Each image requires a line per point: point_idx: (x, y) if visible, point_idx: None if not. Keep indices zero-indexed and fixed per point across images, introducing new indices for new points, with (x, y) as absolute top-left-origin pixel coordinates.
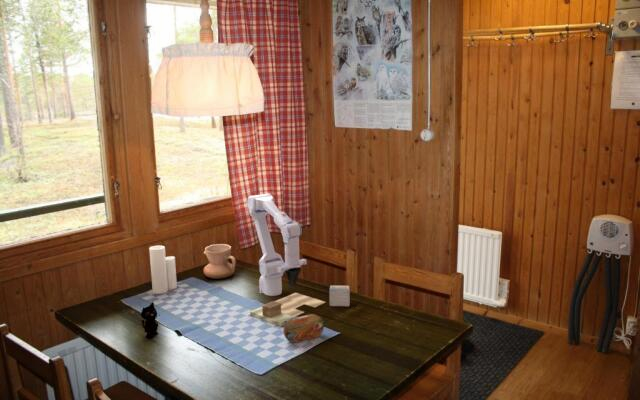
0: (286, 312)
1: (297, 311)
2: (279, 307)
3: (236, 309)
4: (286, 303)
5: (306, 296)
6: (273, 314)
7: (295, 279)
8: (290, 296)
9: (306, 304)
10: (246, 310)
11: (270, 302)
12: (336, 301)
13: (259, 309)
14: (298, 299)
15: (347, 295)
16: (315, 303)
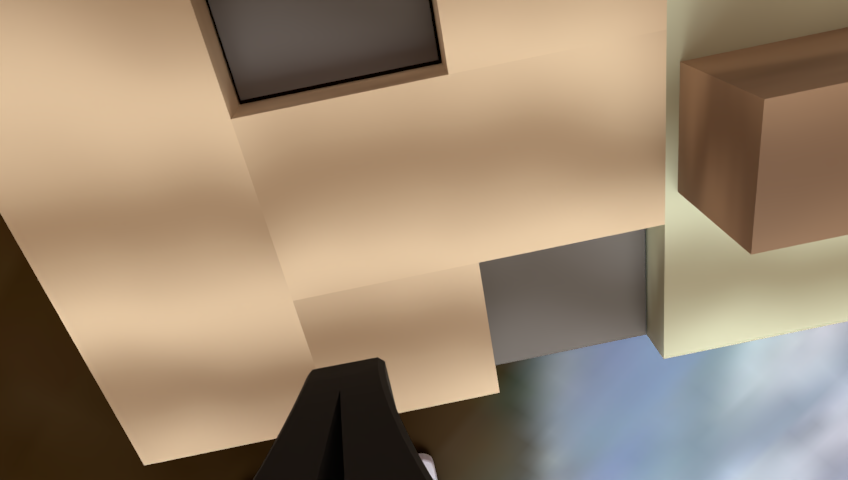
0: (619, 26)
1: None
2: (761, 76)
3: (792, 455)
4: (422, 276)
5: (74, 314)
6: (845, 35)
7: (324, 470)
8: (259, 411)
9: (213, 85)
10: (759, 399)
11: (827, 229)
12: None
13: (755, 308)
14: (221, 293)
15: None
16: (62, 25)
